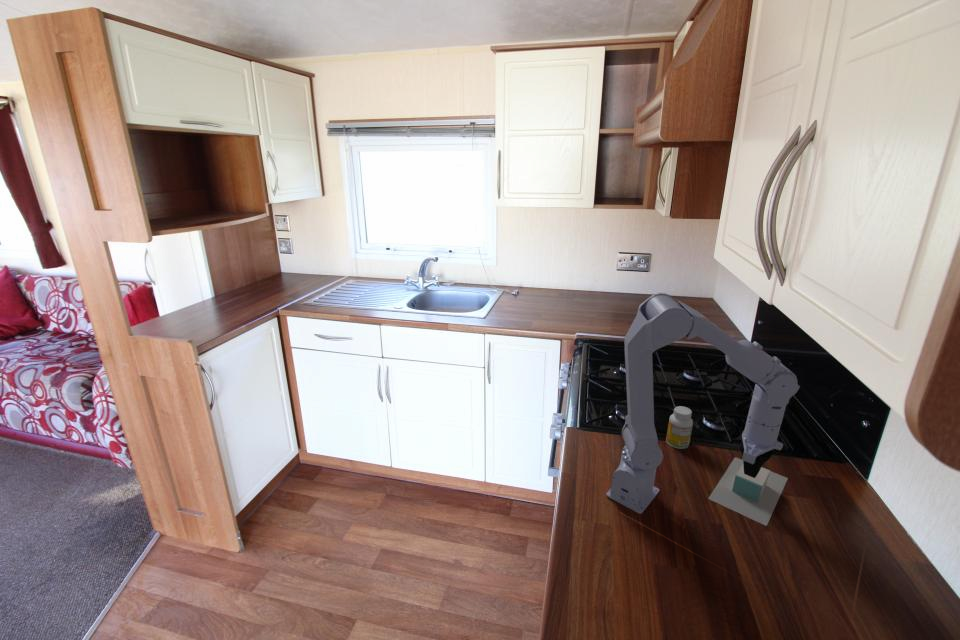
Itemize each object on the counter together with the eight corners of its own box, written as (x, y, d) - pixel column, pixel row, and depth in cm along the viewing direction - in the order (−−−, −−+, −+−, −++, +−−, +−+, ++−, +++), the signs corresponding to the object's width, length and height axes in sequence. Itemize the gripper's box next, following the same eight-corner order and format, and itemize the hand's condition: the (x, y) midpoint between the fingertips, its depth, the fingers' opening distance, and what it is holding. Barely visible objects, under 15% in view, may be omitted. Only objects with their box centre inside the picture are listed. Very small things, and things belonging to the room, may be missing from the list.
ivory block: (761, 487, 94) (770, 470, 99) (735, 475, 98) (745, 460, 102) (757, 502, 96) (766, 485, 101) (732, 490, 99) (741, 474, 104)
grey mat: (766, 527, 90) (766, 526, 90) (707, 499, 97) (708, 498, 97) (787, 479, 103) (788, 478, 103) (734, 458, 110) (735, 457, 110)
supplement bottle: (669, 434, 119) (675, 402, 116) (691, 442, 116) (697, 409, 112) (662, 444, 115) (668, 411, 112) (684, 452, 112) (691, 418, 109)
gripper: (778, 443, 83) (762, 502, 88) (795, 411, 93) (780, 466, 98) (736, 428, 88) (723, 485, 92) (757, 399, 97) (744, 452, 102)
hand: (750, 474), depth 95 cm, fingers closed
